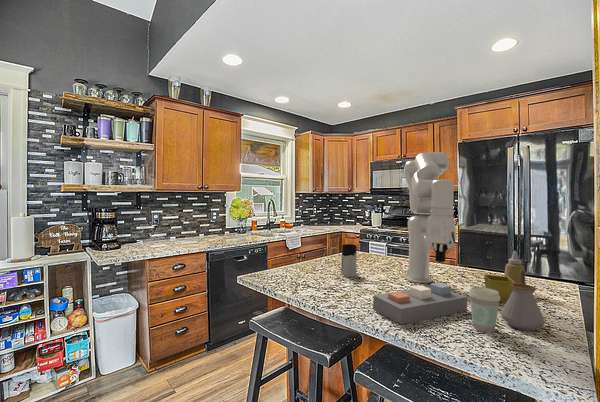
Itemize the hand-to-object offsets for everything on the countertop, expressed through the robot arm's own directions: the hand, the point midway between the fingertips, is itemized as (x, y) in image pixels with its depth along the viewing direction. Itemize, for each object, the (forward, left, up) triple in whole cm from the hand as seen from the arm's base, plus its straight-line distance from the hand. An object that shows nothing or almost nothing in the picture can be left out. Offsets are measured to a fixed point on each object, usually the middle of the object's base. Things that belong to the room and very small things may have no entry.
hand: (440, 261), depth 112 cm
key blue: (0, 0, -14) cm, 14 cm away
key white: (0, -10, -14) cm, 17 cm away
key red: (0, -20, -15) cm, 25 cm away
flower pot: (+4, +28, -17) cm, 33 cm away
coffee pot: (+20, +15, -17) cm, 31 cm away
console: (0, -10, -17) cm, 20 cm away
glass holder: (-53, -9, -17) cm, 56 cm away
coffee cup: (+19, -3, -17) cm, 26 cm away
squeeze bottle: (0, +45, -17) cm, 48 cm away
